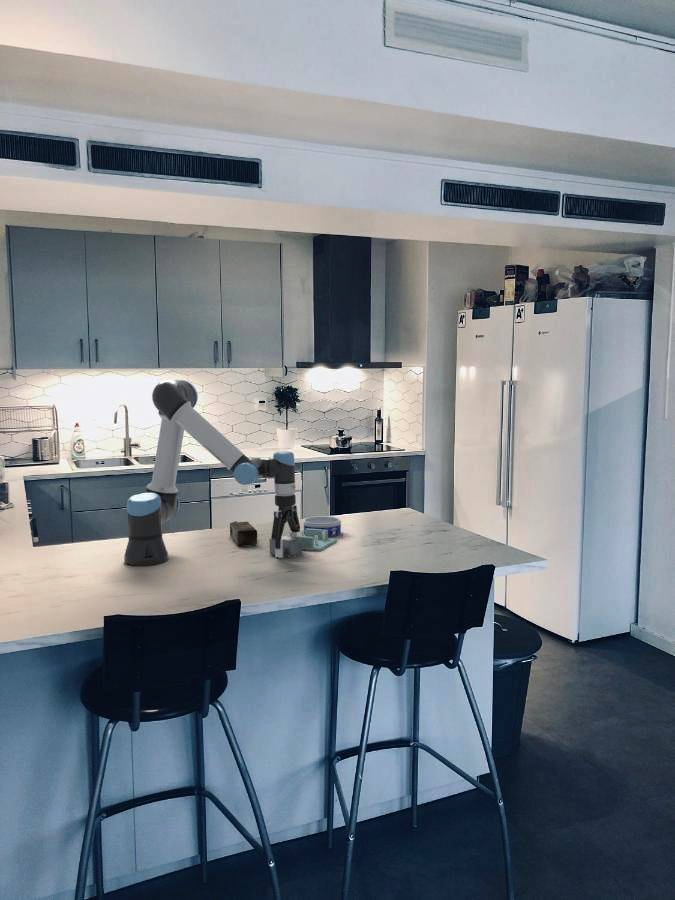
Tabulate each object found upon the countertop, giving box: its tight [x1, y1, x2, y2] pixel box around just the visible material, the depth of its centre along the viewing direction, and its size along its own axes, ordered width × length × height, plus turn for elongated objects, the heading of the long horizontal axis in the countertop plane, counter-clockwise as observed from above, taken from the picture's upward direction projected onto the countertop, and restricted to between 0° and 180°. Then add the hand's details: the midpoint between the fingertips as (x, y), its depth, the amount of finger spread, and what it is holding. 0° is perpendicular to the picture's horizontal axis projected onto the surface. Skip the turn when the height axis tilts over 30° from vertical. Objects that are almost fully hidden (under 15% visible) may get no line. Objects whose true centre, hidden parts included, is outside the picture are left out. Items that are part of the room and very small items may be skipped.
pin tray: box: [297, 528, 338, 552], centre depth 278 cm, size 16×16×4 cm
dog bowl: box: [303, 515, 342, 538], centre depth 297 cm, size 15×15×6 cm
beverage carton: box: [229, 520, 258, 547], centre depth 286 cm, size 8×19×7 cm, turn 18°
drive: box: [269, 535, 304, 558], centre depth 264 cm, size 10×6×6 cm, turn 64°
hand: (286, 553), depth 264 cm, fingers open, 11 cm apart
